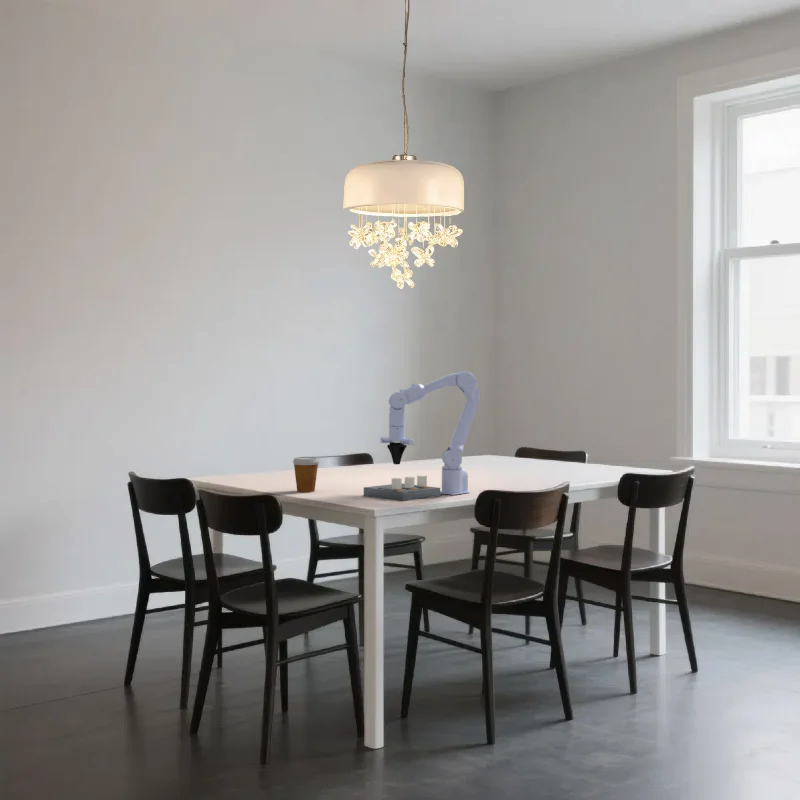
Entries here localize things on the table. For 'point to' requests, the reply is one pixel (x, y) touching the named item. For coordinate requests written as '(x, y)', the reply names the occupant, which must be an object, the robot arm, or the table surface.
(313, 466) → the disposable coffee cup
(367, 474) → the table surface
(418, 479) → the breaker
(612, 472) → the table surface
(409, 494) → the panel
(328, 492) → the table surface
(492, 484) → the table surface
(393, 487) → the block
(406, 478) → the block
